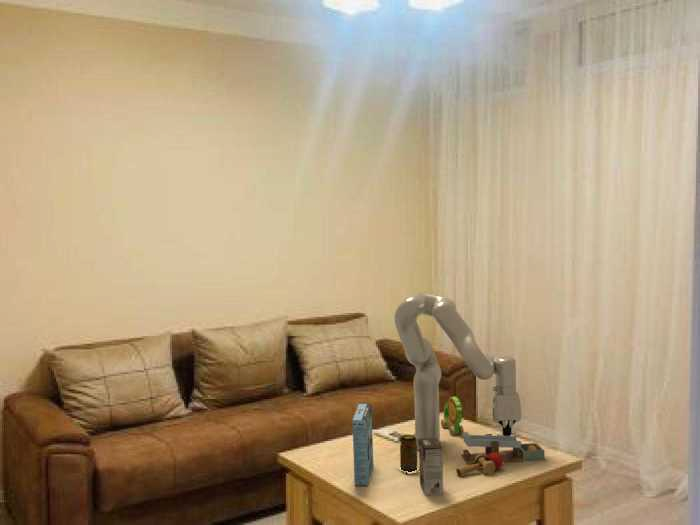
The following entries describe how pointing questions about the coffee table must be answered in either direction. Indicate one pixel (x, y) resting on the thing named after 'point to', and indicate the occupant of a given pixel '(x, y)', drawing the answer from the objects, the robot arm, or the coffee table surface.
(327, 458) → the coffee table surface
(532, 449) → the ball
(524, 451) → the green square tray
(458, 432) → the toy lion
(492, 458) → the kendama
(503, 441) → the lever
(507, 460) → the stand
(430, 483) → the coffee box
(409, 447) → the condiment
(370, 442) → the gum box
